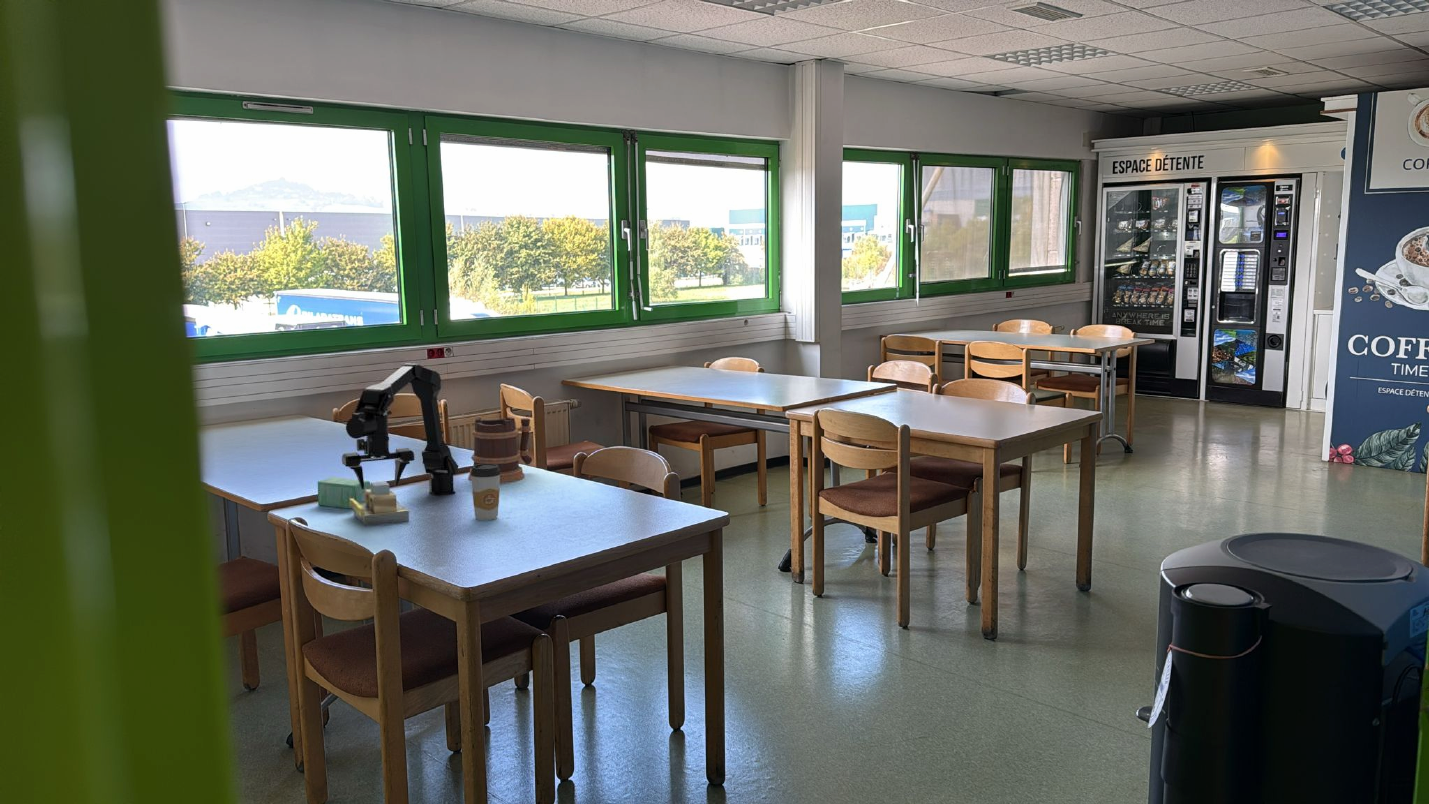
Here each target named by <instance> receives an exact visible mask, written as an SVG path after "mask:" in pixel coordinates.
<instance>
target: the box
mask: <svg viewBox="0 0 1429 804" xmlns="http://www.w3.org/2000/svg"><path fill="white" fill-rule="evenodd" d="M365 489H371V482H370V481H369V480H364V489H362V488H361V486H360V483H359V481H358V479H352V478H343V477H335V476H333V477H329V478H326V479H325V478H324V479H322V480H318V481H317V504H318V506H324V507H332V508H333V507H334V508H340V509H341V508H342V509H343V508H344V509H349V510H354V509H353V508H352V507H351V506H350V501H349V498H353V499H355V500H356V501H357V502H358V503H359V504H363V503H365Z"/></svg>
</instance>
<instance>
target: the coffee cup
mask: <svg viewBox="0 0 1429 804" xmlns="http://www.w3.org/2000/svg"><path fill="white" fill-rule="evenodd" d="M471 469H472V470H471V474H470V473H469V474H470V475H471V479H472V481H471V487H472V490H471V491H472V500H473V502H472V503H473V508H474V509H473V511H474V517H475V519H476V520H478V521H482V520H488V521H493V520H492V519H494V520H496V519H497V518H498V516H499V505H500V483H499V482H500V474H501V473H500V469H499V466H498V465H497V464H477V465H474V464H473V465H472V466H471ZM495 518H496V519H495Z"/></svg>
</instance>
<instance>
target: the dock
mask: <svg viewBox="0 0 1429 804" xmlns="http://www.w3.org/2000/svg"><path fill="white" fill-rule="evenodd" d="M349 501H350V506H351V507H352V508H353V509H352V510H353V516H354V518H355V519H357V520H358V521H359V523H361V524H362V525H363V526H364V527H373V526H382V525H388V524H389V525H390V524H396V523H404V522H405V523H406V522H409V521H410V511H409V509H408V508H406V507H405V506H404V505H403V504H401V503H400V501H398V500H397V499H396V506H397V511H391V512H382V513H374V512H373V510H371V509H369V506H366V505H365V503H363V504H359V503H358V502H357V501H356V500H355V499H353V498H349Z"/></svg>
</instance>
